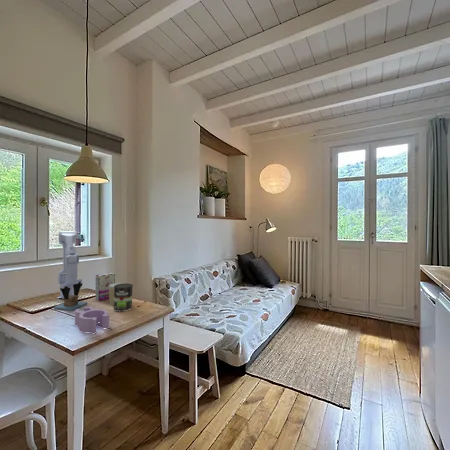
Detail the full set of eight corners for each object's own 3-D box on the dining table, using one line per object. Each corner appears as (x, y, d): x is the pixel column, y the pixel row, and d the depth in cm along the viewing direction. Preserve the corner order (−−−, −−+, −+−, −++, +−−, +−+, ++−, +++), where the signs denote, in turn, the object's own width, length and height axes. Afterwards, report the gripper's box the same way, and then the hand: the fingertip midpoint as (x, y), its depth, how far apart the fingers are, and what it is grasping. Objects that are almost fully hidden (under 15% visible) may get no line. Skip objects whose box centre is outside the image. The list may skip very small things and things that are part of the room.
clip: (67, 325, 127) (68, 311, 127) (92, 317, 137) (93, 305, 137) (88, 336, 116) (88, 321, 116) (113, 327, 126) (114, 313, 126)
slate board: (70, 302, 159) (70, 300, 159) (87, 304, 157) (87, 302, 157) (54, 309, 147) (54, 307, 147) (72, 311, 145) (72, 309, 145)
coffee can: (130, 311, 147) (131, 287, 147) (111, 312, 145) (112, 288, 145) (133, 305, 157) (134, 283, 157) (115, 306, 155) (116, 283, 155)
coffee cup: (127, 303, 161) (127, 284, 161) (113, 307, 153) (114, 287, 153) (118, 300, 166) (119, 282, 166) (105, 304, 159) (105, 284, 158)
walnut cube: (70, 302, 155) (70, 294, 155) (77, 303, 154) (77, 295, 154) (63, 305, 150) (64, 297, 150) (71, 306, 149) (71, 297, 149)
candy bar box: (111, 295, 175) (111, 272, 175) (115, 297, 172) (115, 273, 172) (94, 299, 166) (95, 274, 166) (98, 301, 163) (99, 276, 163)
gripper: (68, 277, 144) (67, 301, 144) (86, 272, 158) (85, 294, 158) (57, 276, 145) (56, 300, 145) (76, 271, 159) (76, 293, 160)
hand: (71, 297), depth 152 cm, fingers open, 7 cm apart
